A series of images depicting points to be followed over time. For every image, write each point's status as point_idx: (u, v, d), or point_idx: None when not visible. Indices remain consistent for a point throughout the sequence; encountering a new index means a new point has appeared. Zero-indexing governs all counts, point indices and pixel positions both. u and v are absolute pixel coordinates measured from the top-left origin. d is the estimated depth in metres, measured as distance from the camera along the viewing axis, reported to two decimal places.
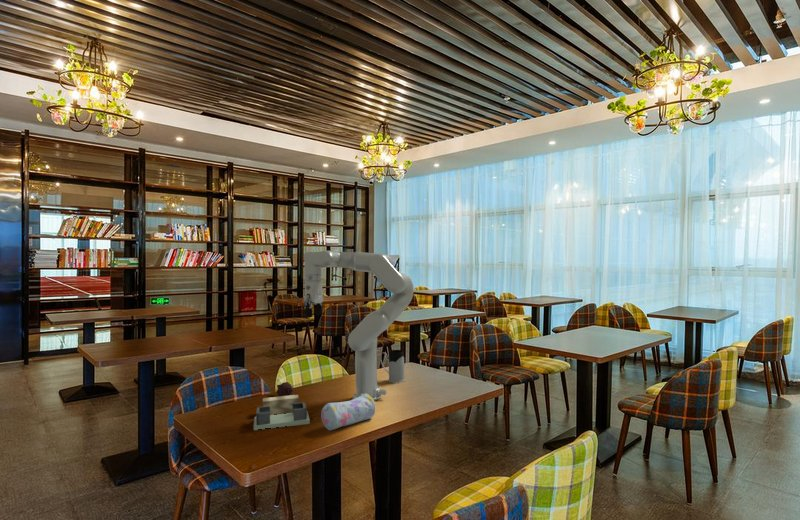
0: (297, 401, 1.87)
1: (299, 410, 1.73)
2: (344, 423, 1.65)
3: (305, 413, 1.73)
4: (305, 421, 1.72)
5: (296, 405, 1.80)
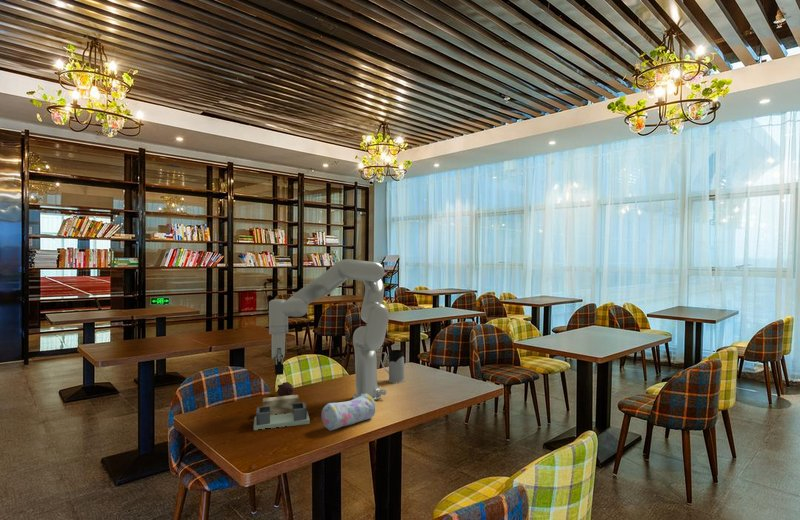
0: (297, 401, 1.87)
1: (299, 410, 1.73)
2: (345, 423, 1.65)
3: (305, 413, 1.73)
4: (305, 421, 1.72)
5: (296, 405, 1.80)
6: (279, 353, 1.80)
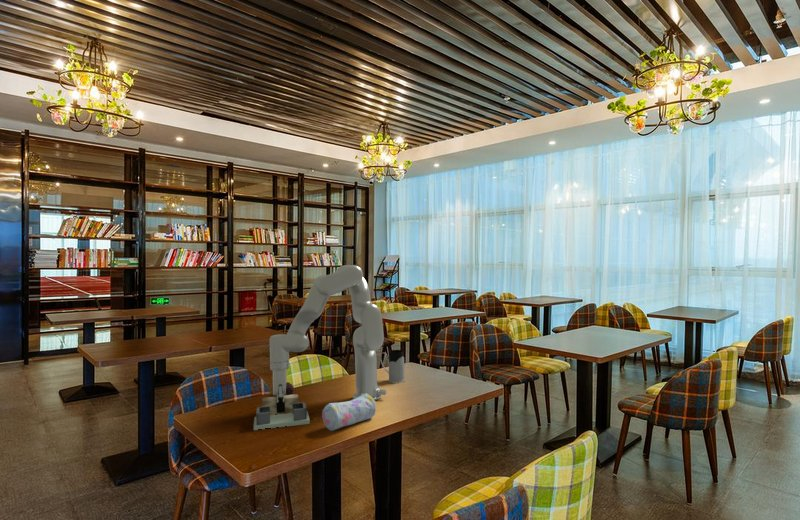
0: (297, 400, 1.87)
1: (299, 410, 1.73)
2: (345, 423, 1.65)
3: (305, 413, 1.73)
4: (305, 421, 1.72)
5: (296, 405, 1.80)
6: (280, 393, 1.81)
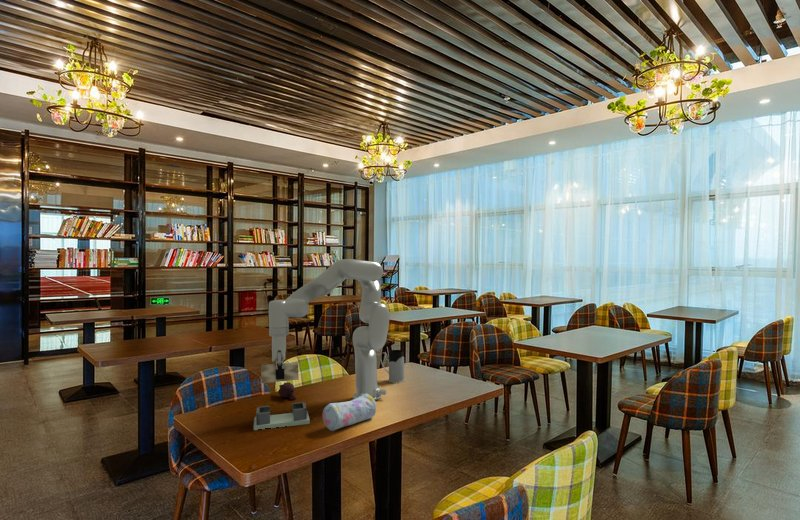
0: (296, 368, 1.82)
1: (299, 410, 1.73)
2: (346, 423, 1.65)
3: (305, 413, 1.73)
4: (305, 421, 1.72)
5: (296, 405, 1.80)
6: (279, 359, 1.76)
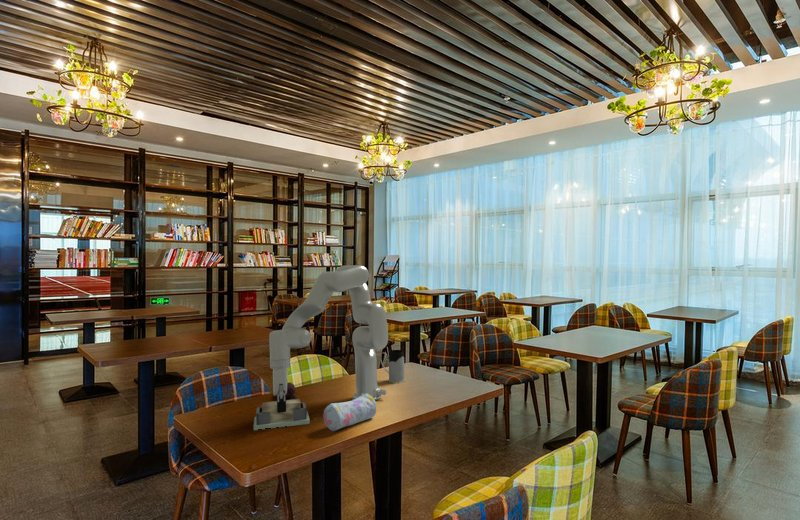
0: (299, 406, 1.74)
1: (299, 410, 1.73)
2: (347, 423, 1.65)
3: (305, 413, 1.73)
4: (305, 421, 1.72)
5: None
6: (281, 390, 1.68)
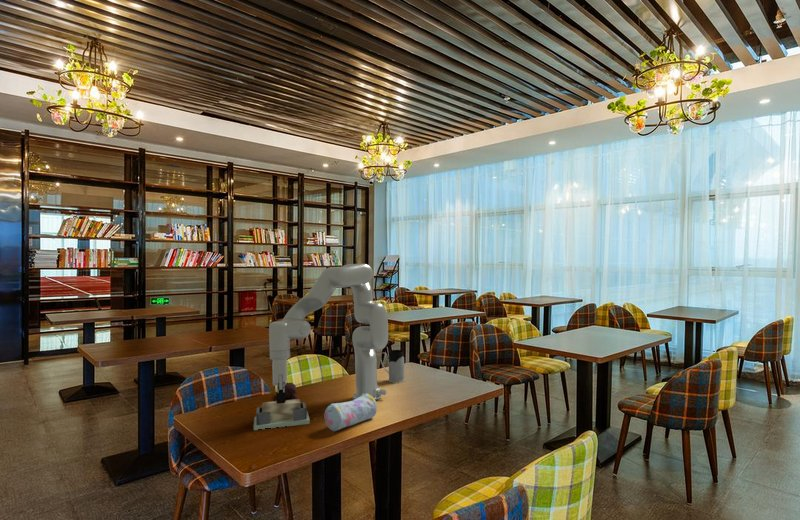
0: (299, 406, 1.74)
1: (299, 410, 1.73)
2: (348, 423, 1.65)
3: (305, 413, 1.73)
4: (305, 421, 1.72)
5: None
6: (281, 386, 1.70)
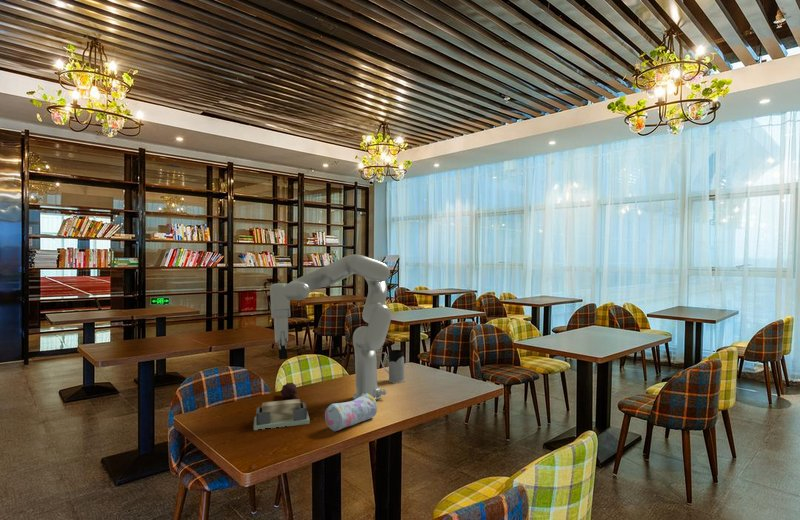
0: (299, 406, 1.74)
1: (299, 410, 1.73)
2: (349, 423, 1.65)
3: (305, 413, 1.73)
4: (305, 421, 1.72)
5: None
6: (283, 342, 1.82)
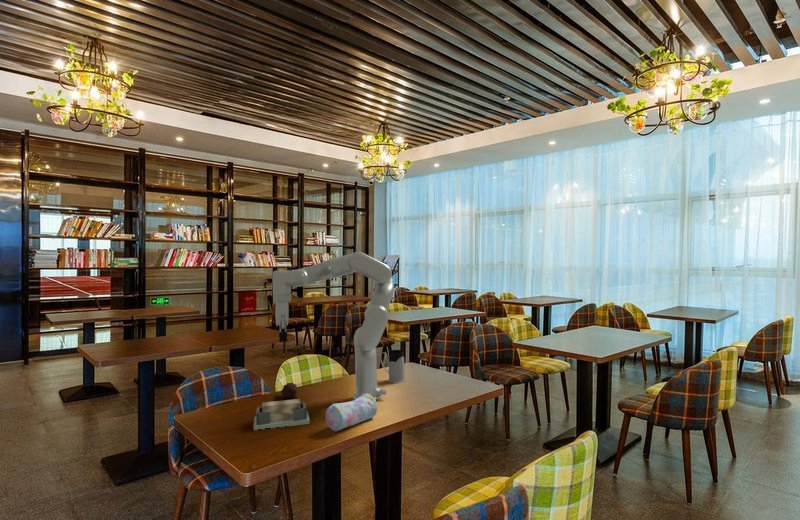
0: (299, 406, 1.74)
1: (299, 410, 1.73)
2: (349, 423, 1.65)
3: (305, 413, 1.73)
4: (305, 421, 1.72)
5: None
6: (283, 325, 1.93)
